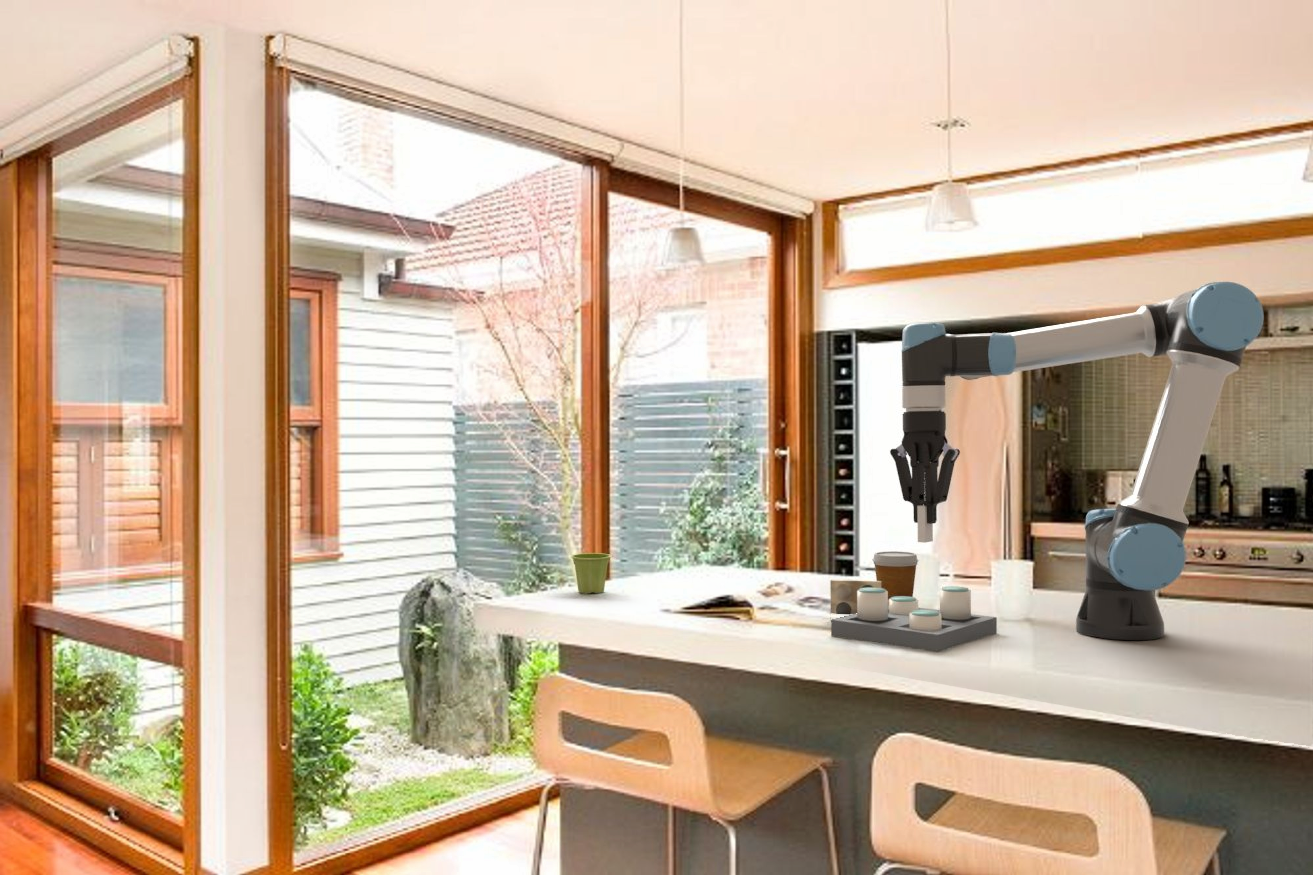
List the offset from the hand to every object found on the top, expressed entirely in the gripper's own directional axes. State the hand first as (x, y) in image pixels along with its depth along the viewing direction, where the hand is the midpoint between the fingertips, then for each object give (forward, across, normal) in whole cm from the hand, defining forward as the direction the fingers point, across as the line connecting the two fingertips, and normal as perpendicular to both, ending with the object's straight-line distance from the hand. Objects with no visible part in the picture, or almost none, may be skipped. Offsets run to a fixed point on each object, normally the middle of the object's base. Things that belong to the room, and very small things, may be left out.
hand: (925, 541), depth 194 cm
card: (+18, +22, -10) cm, 30 cm away
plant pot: (+18, +90, -2) cm, 91 cm away
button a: (+15, 0, -11) cm, 19 cm away
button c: (+18, 0, 0) cm, 18 cm away
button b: (+18, +11, -11) cm, 24 cm away
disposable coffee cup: (+19, +22, -25) cm, 38 cm away
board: (+18, +6, -5) cm, 20 cm away
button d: (+15, +11, 0) cm, 19 cm away
